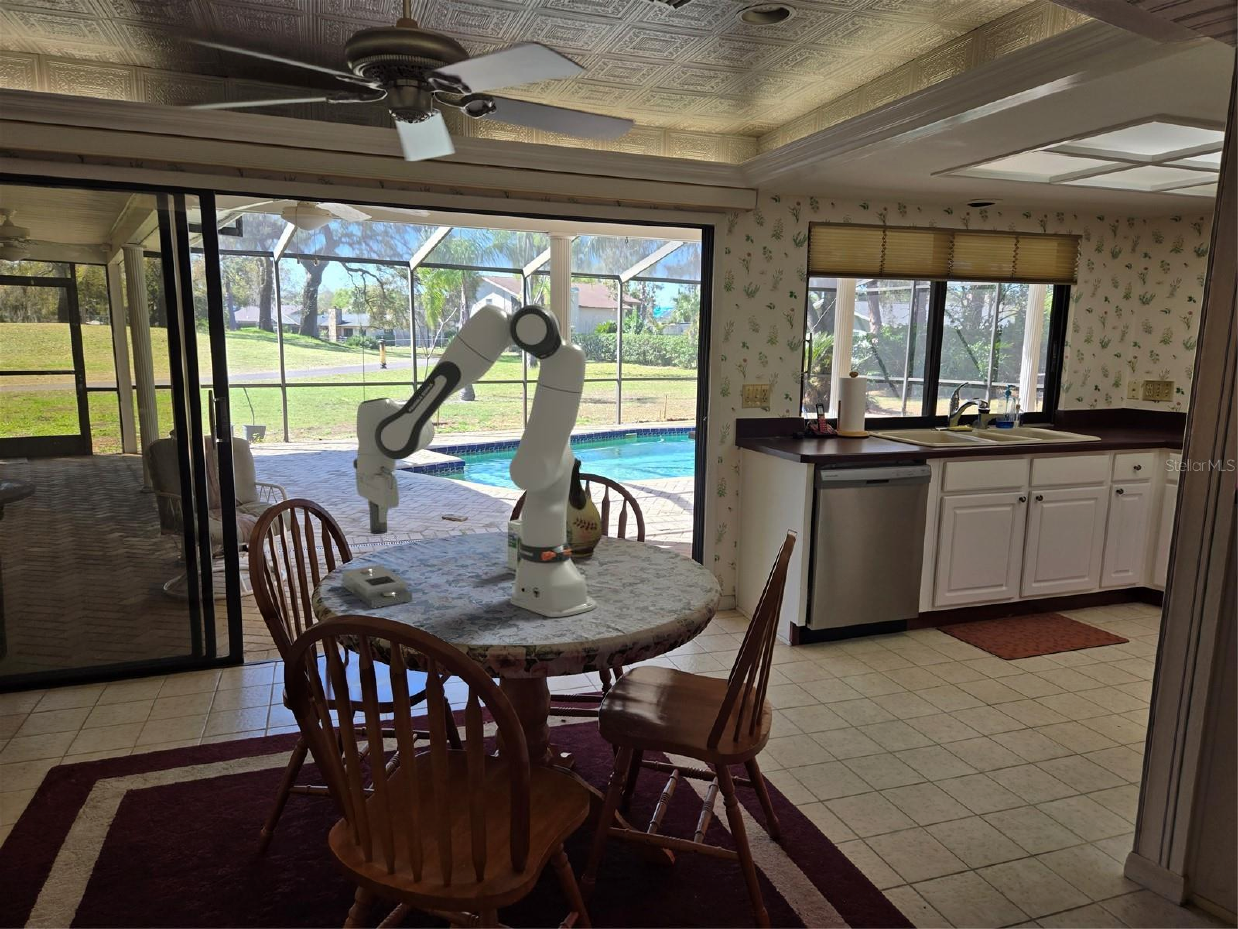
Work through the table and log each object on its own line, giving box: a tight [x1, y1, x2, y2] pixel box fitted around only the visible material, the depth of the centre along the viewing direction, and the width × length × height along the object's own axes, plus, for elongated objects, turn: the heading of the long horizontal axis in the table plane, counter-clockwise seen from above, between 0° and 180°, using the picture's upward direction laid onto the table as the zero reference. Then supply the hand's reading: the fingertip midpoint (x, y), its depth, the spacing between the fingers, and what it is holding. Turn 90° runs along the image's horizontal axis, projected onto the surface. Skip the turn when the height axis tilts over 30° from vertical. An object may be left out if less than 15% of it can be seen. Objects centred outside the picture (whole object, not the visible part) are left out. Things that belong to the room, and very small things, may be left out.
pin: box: [368, 501, 388, 535], centre depth 190 cm, size 4×4×9 cm
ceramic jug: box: [566, 457, 603, 558], centre depth 231 cm, size 17×15×30 cm
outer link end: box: [341, 564, 408, 598], centre depth 196 cm, size 19×10×5 cm, turn 37°
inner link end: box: [353, 588, 413, 609], centre depth 191 cm, size 13×10×3 cm
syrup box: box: [507, 519, 522, 576], centre depth 213 cm, size 6×6×14 cm
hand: (378, 519), depth 190 cm, fingers closed on pin, 4 cm apart
